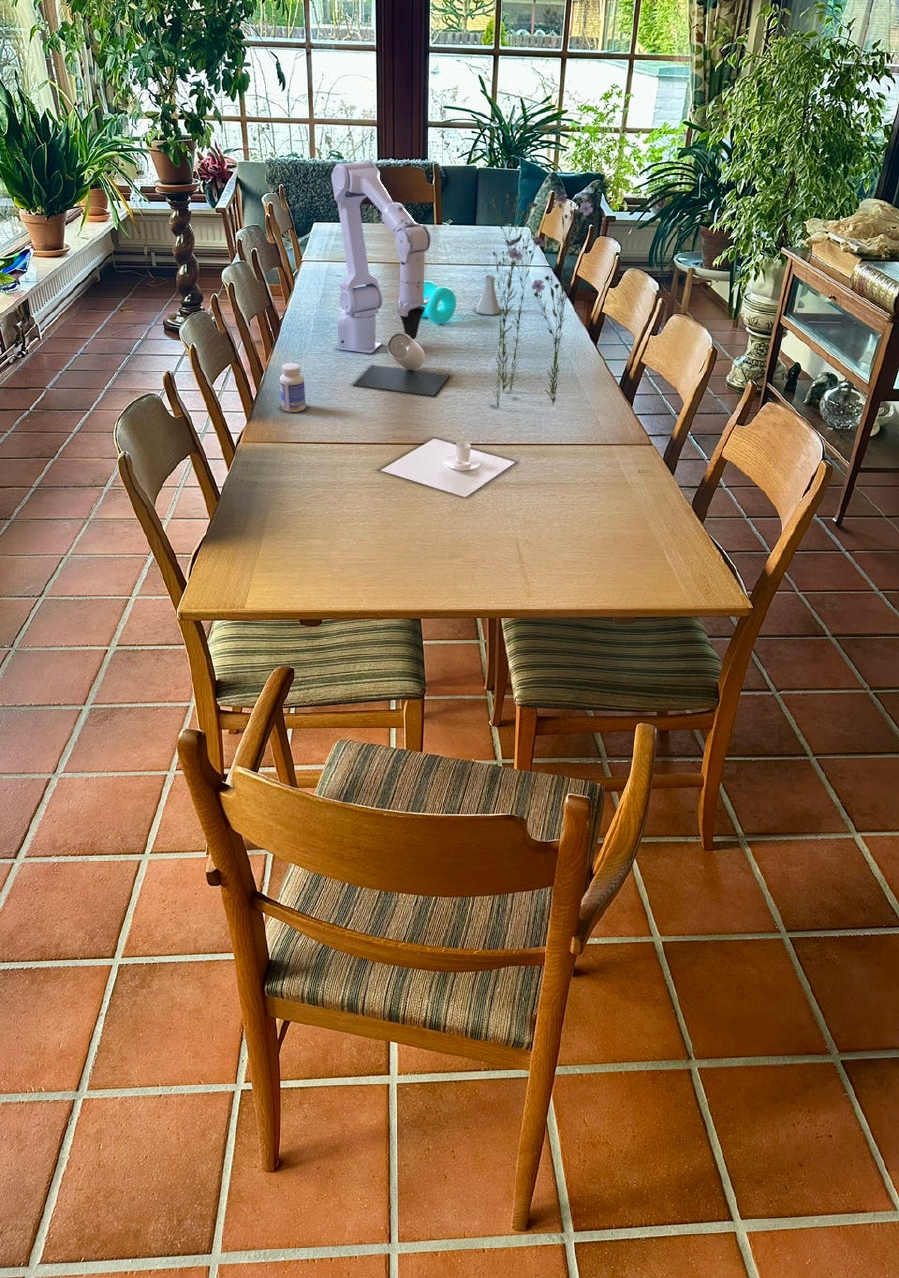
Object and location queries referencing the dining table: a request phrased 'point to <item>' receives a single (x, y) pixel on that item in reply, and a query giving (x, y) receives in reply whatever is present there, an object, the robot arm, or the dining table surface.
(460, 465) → the teacup and saucer
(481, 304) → the flask
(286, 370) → the pill bottle
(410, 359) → the can
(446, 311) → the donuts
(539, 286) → the wildflower
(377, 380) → the mat
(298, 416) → the dining table surface
